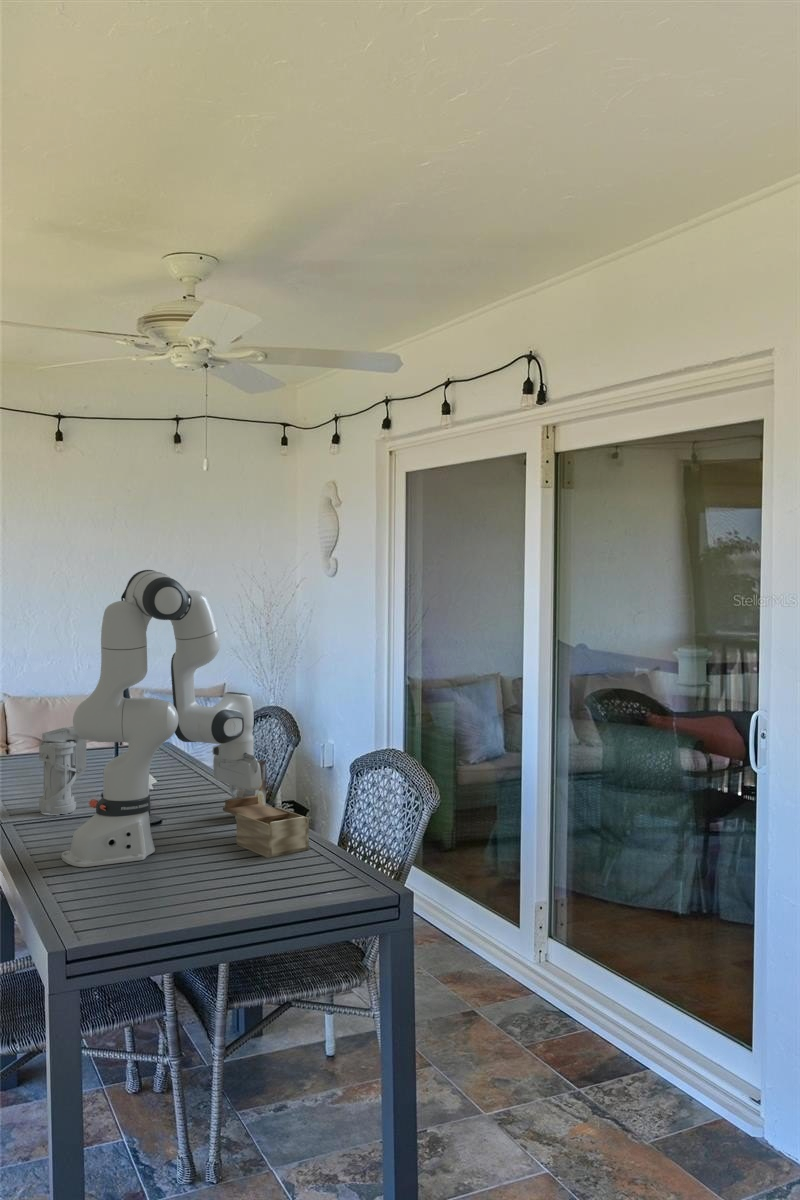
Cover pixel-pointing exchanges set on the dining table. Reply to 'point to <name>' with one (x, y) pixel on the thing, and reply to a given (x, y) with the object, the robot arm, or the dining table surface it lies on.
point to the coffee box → (262, 791)
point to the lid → (252, 808)
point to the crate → (274, 834)
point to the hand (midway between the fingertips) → (237, 801)
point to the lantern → (61, 768)
